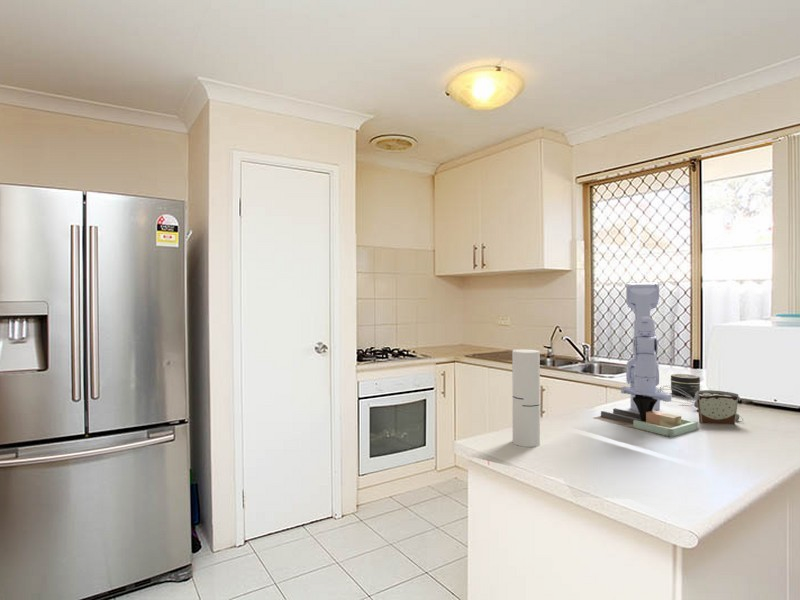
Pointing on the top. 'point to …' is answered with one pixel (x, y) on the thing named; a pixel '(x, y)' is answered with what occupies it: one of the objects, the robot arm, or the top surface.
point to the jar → (685, 384)
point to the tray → (683, 428)
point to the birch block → (670, 420)
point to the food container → (717, 406)
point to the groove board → (623, 419)
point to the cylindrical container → (526, 397)
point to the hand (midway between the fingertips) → (645, 420)
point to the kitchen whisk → (691, 401)
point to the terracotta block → (653, 417)
